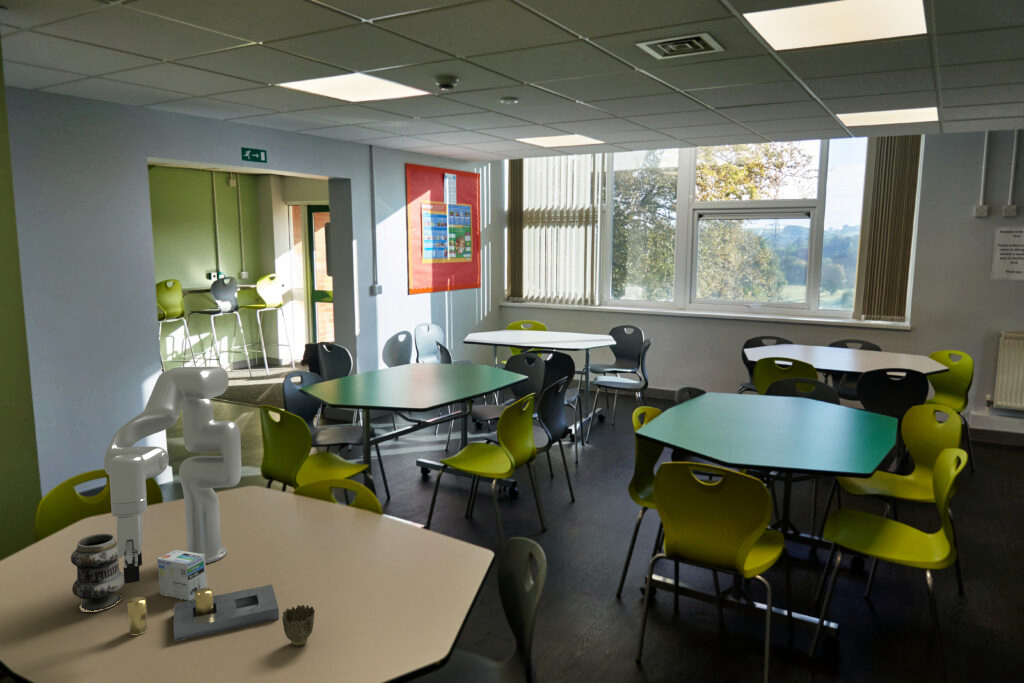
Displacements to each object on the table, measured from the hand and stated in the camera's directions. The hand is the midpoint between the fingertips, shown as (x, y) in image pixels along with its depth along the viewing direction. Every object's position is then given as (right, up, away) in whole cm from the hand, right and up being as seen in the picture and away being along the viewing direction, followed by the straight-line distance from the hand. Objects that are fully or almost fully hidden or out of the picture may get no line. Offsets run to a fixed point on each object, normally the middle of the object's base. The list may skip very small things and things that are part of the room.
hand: (133, 574), depth 166 cm
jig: (+19, -14, +9) cm, 25 cm away
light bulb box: (+2, -13, +22) cm, 25 cm away
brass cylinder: (0, -15, +2) cm, 15 cm away
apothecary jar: (-18, -14, +16) cm, 27 cm away
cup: (+41, -16, -3) cm, 45 cm away
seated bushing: (+14, -14, +7) cm, 22 cm away
